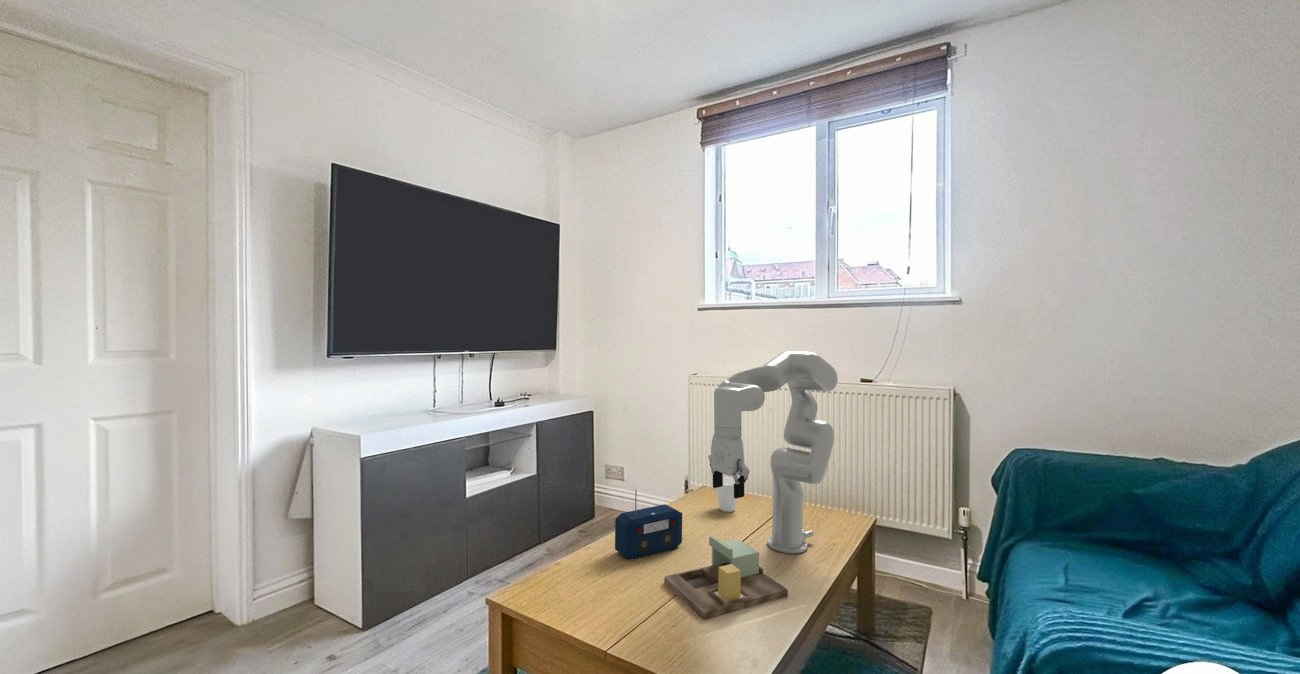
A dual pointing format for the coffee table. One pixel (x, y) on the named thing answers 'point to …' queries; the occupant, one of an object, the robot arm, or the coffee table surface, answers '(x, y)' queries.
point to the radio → (648, 531)
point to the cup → (727, 495)
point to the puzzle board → (708, 603)
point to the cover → (735, 555)
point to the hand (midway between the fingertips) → (728, 492)
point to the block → (729, 582)
